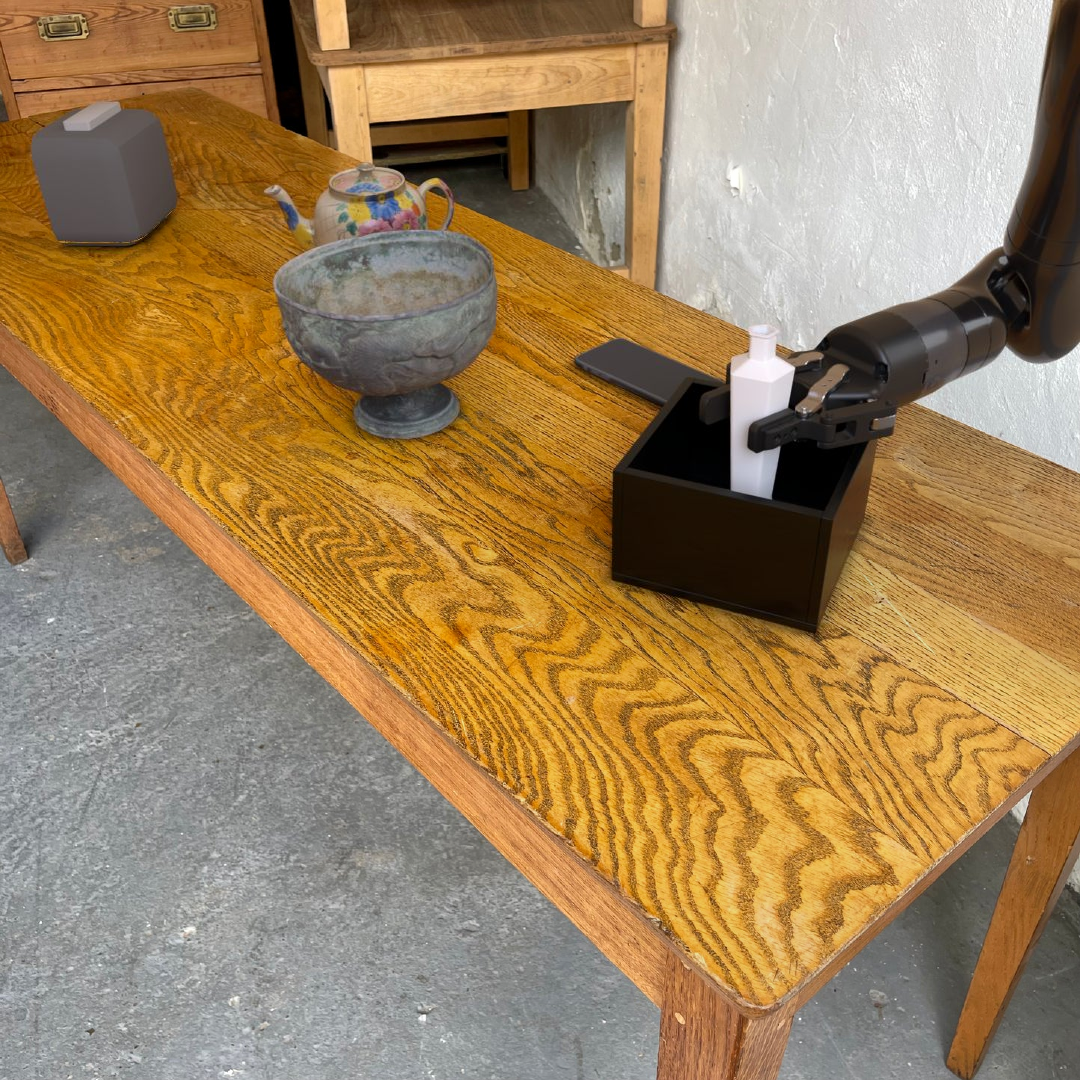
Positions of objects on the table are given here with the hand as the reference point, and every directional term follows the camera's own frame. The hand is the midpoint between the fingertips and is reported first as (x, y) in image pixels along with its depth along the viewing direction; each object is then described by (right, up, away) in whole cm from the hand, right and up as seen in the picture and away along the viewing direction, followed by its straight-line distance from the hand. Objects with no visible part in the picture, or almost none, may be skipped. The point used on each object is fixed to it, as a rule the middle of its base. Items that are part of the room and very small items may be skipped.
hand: (727, 424), depth 78 cm
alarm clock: (-69, +34, +72) cm, 105 cm away
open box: (+3, -9, +8) cm, 12 cm away
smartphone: (-2, +8, +32) cm, 33 cm away
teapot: (-34, +24, +56) cm, 70 cm away
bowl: (-26, +4, +27) cm, 38 cm away
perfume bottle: (+3, -6, +6) cm, 9 cm away
